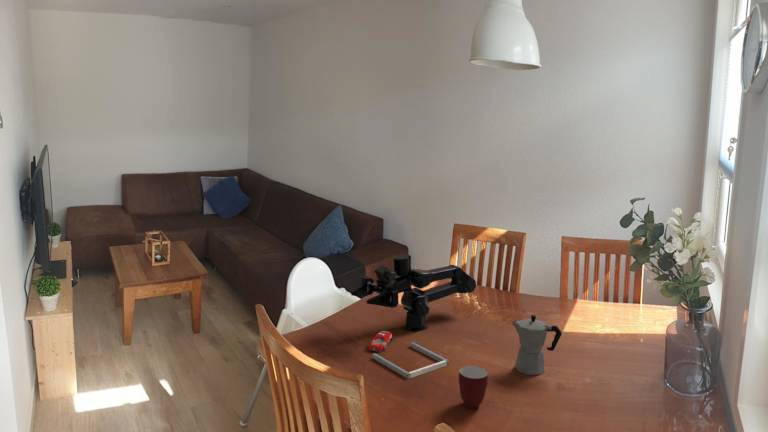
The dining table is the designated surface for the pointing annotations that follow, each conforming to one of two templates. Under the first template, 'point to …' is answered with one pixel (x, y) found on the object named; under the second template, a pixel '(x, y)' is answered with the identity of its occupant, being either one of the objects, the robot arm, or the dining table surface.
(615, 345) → the dining table surface
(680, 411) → the dining table surface
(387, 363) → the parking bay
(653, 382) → the dining table surface
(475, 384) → the mug
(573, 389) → the dining table surface
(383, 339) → the race car
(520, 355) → the coffeepot
